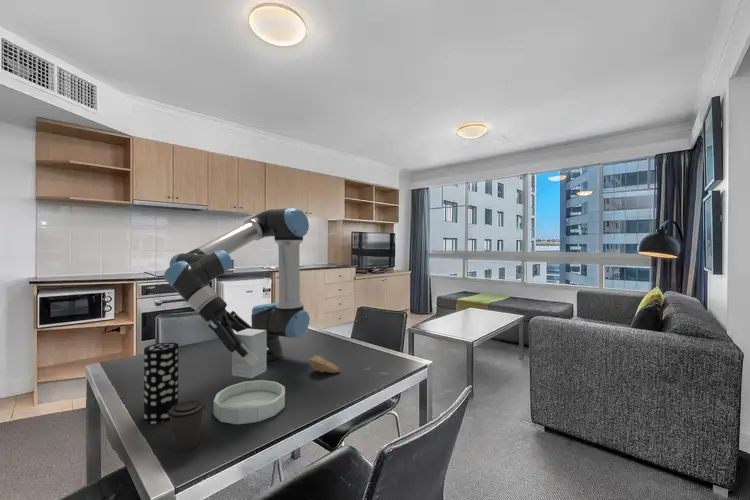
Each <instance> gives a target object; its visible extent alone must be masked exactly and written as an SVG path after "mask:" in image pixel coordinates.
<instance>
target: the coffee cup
mask: <svg viewBox="0 0 750 500" xmlns="http://www.w3.org/2000/svg"><path fill="white" fill-rule="evenodd" d="M205 407H206V405H205V403H204V402H203V401H201V400H187V401H182V402H178V404H176V405H174V406H172V407H171V408H170V409H169V411H168V413H167V414H168V416H170V420H169V422H170V429H171V436H172V443H173V449H174V451H176V452H185V451H190V450H192V449H194V448H195V447H197V446H198V445H199V441H200V435H201V427H202V419H203V418H202V417H203V410H204V409H205Z"/></svg>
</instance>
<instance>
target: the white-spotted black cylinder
mask: <svg viewBox="0 0 750 500" xmlns="http://www.w3.org/2000/svg"><path fill="white" fill-rule="evenodd" d="M178 403H179V344H178V343H176V342H161V343H160V342H159V343H156V344H151V345H148V346H146V347H145V348H144V349H143V408H144V409H143V421H144V423H146V424H150V425H151V424H152V425H153V424H161V423H164V422H167V421H168V422H169V421H170V416H168V414H167V413H168V411H169V409H170V408H171V407H172V406H174V405H176V404H178Z"/></svg>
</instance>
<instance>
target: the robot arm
mask: <svg viewBox="0 0 750 500" xmlns="http://www.w3.org/2000/svg"><path fill="white" fill-rule="evenodd" d="M309 225H310V224H309V219H308V217H307V215H306V214H305V213H304V211H303V210H301V209H299V208H293V207H290V208H289V207H288V208H273V209H267V210H265V211H262V212H260V213H258V214H256V215H254V216H252V217H250V218H248V219H246V220H245V221H244V222H243V224H241V225H239V226H238V227H236V228H234V229H231V230H229V231H227V232H226V233H223V234H222V235H220V236H218V237H216V238H215V239H212V240H210V241H208V242H206V243H204V244H203V245H200V246H199V247H198V246H197V248H194V249H192V250H190V251H188V252H187V253H184V252H183V253H178V254H175V255H174V256H172V257H171V259H170V261H169V267H168V268H167V269H166V270H165V272H164V274H163V278H164V280H165V281H166V282H167V283H168V285H170V287H171V288H172V289H173V290H174V291H175V292H177V294H178V295H180V297H182V298H183V300H185V302H186V303H187V304H189V305H190V308H191V309H193V310H194V311H195V312H198V315H199V316H200V317H201V318H202V319H203V320H204V322H208V323H209V322H210V321H211V322H210V323H209V324H208V327H209V328H210V329H211V330H212V331H213V332H214V334H215V335H216V336H217V338H218V339H219V340H220V341H221V343H222V344H223V345H224V346H225V349H227V350H228V351H229V352H231V353H232V352H234V351H236V352H237V353H238V354H239V355H240V356H241V357H242V358H243V359H244V360H245V361H246V362H247V363H248V364H249V365H250V366H252V365H253V364H254V363H255V362H256V361H257V360H258V358H257V357H256V356H255V355H254V354H253V353H252V352H251V351H250V350H249V349H248V348H247V347H246V346H245V345H244V344H243V343H242V344H241V343H240V341H239V340H238V338H237V336H236V335H235V333H236V332H239V331H242V330H245V329H248V328H249V329H258V330H267V362H271V361H277V360H278V359H281V358H282V357H283V356H284V349H283V345H282V342H281V339H280V337H285V338H287V339H299V338H301V337H302V336H303V335H304V334H305V333H306V332H307V330H308V328H309V327H310V326H309V325H310V318H311V317H310V314H309V312H307V311H306V310H304V303H303V302H302V301H301V295H300V294H301V289H300V288H301V285H300V284H301V281H300V279H301V278H300V276H301V273H300V271H301V270H300V268H301V267H300V266H301V265H300V259H301V258H300V244H301V243H302V242H303V241H304V236H306V235H307V234H308V231H309V228H310V226H309ZM269 237H273V238H274V242H275V243H276V244H277V246H278V249H277V250H278V302H274V303H271V302H270V303H265V304H258V305H254V306H253V307H252V308H251V318H250V319H251V325H250V324H248V322H246V321H245V320H244V319H243V318H241V317H240V316H239V314H237V313H236V312H235V311H234V310H232V311H231V312H229V311H227V310H226V308H227V306H228V303H227V302H226V301H224V299H223V298H222V297H220V296H218V293H217V292H216V291H215V290H214V289H213V288H212V287H211V286H210V285H209V284H208V283H209V282H211V281H213V280H215V279H217V278H218V277H219V276H222V275H224V274H225V273H226V272H228V271H229V270H231V268H232V267H233V260H232V258H231V257H232V256H230V254H232V253H234V252H235V251H237V250H239V249H241V248H242V247H244V246H246V245H248V244H249V243H251V242H253V241H260V240H262V239H264V238H269Z"/></svg>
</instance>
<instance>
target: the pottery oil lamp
mask: <svg viewBox="0 0 750 500" xmlns="http://www.w3.org/2000/svg"><path fill="white" fill-rule="evenodd" d="M308 362H309V364H310V366H311V368H312V369H313V370H314V371H317V372H320V373H330V374H331V373H332V374H337V373H339V372H340V370H341V369H340V367H339V366H338V365H336V364H334V363H333V362H331V361H328V359H325V358H324V357H322V356H319V355H310V356H309V358H308Z"/></svg>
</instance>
